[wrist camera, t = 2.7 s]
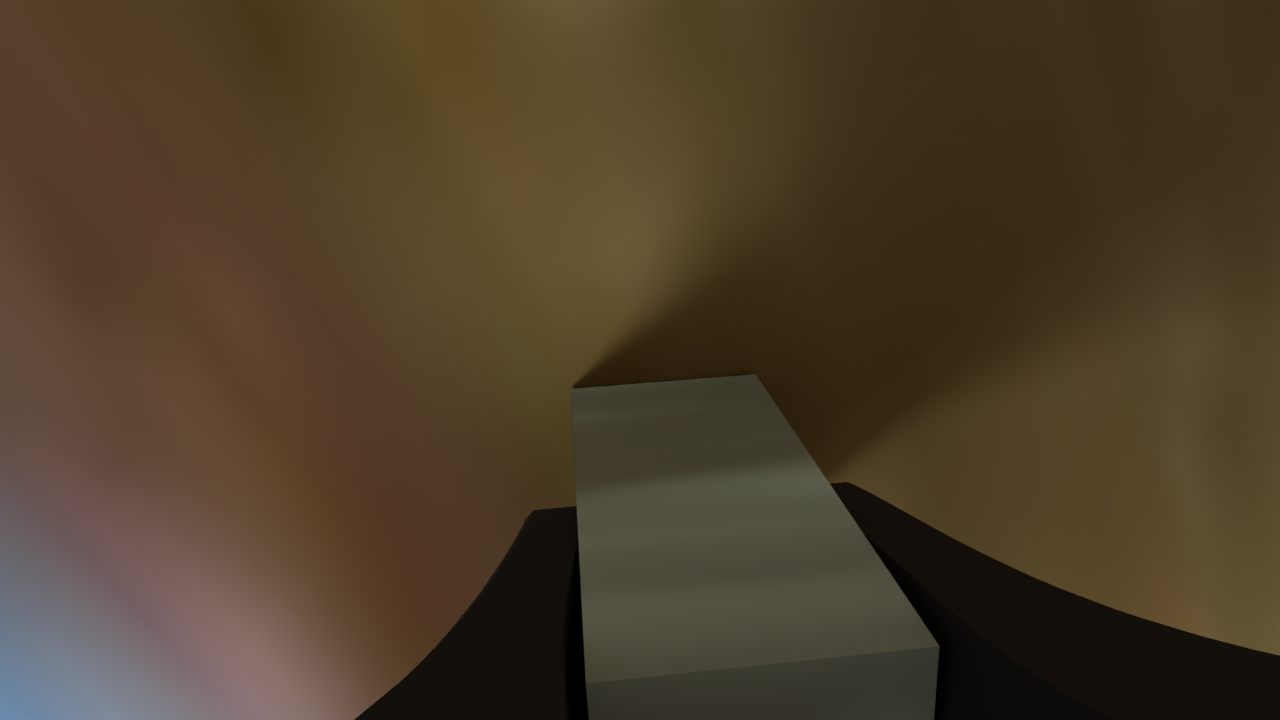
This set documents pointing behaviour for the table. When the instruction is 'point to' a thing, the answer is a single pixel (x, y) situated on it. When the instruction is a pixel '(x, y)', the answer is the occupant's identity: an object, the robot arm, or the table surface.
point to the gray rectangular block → (730, 568)
